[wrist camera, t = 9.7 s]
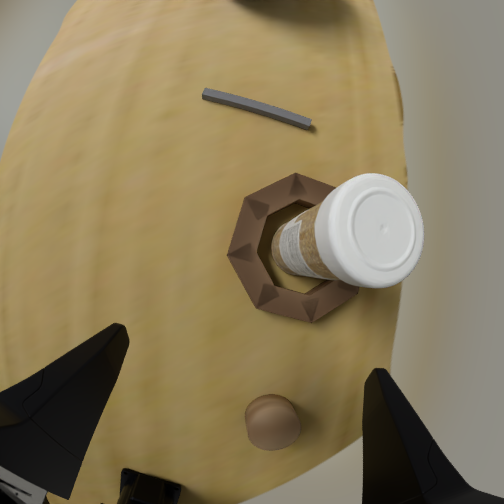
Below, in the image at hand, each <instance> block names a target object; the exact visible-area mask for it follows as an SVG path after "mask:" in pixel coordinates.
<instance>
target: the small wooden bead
mask: <svg viewBox="0 0 504 504" xmlns="http://www.w3.org/2000/svg"><path fill="white" fill-rule="evenodd" d="M245 421H246V426H247V432H248V437H249V440H250V441H251V443H252V444H253V445H254V446H256V447H258V448H260V449H263V450H269V451H272V450H279V449H283V448H285V447H287V446H289V445H290V444H292V443H293V442H294V441H295V440H296V439H297V438H298V436H299V434H300V432H301V422H300V420H299V418H298V416H297V414H296V412H295V410H294V409H293V407H292V405H291V403H290V402H289V401H288V400H287V399H286V398H284V397H282V396H280V395H275V394H269V395H264V396H261V397H258V398H256V399H255V400H253V401H252V402H251V403H250V404H249V406H248V407H247V409H246V412H245Z"/></svg>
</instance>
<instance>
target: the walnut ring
mask: <svg viewBox="0 0 504 504" xmlns="http://www.w3.org/2000/svg"><path fill="white" fill-rule="evenodd" d="M334 189H336V188H335V187H333V186H330V185H328V184H325V183H322V182H320V181H317V180H314V179H312V178H309V177H306V176H303V175H300V174H298V173H294V174H292V175H290V176H288V177H285V178H283V179H281V180H279V181H277V182H275V183H273V184H271V185H269V186H267V187H265V188H263V189H261V190H259V191H257V192H255V193H253V194H251V195H249V196H247V197H245V198H244V201H243V205H242V208H241V211H240V214H239V218H238V221H237V224H236V227H235V231H234V234H233V237H232V240H231V244H230V247H229V250H228V254H227V256H228V258H229V260H230V262H231V264H232V266H233V268H234V269H235V271H236V273H237V275H238V277H239V279H240V280H241V282H242V284H243V286H244V288H245V290H246V291H247V293H248V295H249V297H250V299H251V301H252V302H253V304H254V306H255V307H256V308H257V309H261V310H264V311H268V312H272V313H275V314H279V315H283V316H287V317H291V318H295V319H299V320H303V321H307V322H311V323H312V322H314V321H315V320H317V319H319V318H320V317H322V316H323V315H325V314H327V313H328V312H330V311H331V310H333V309H335V308H336V307H338V306H339V305H341V304H342V303H344V302H345V301H347V300H348V299H350V298H352V297H353V296H355V295H356V294H358V290H359V287H360V286H354V285H351V284H348V283H346V282H344V281H342V280H326V281H325V282H323V283H321V284H320V285H318V286H317V287H315V288H313V289H312V290H310V291H308V292H306V293H305V294H303V293H299V292H296V291H292V290H289V289H285V288H282V287H278V286H275V285H274V284H273V282H272V280H271V278H270V277H269V275H268V273H267V271H266V269H265V267H264V265H263V263H262V262H261V260H260V258H259V256H258V254H257V252H256V251H257V248H258V245H259V241H260V238H261V235H262V231H263V228H264V224H265V221H266V218H267V217H268V216H270V215H272V214H274V213H276V212H277V211H279V210H281V209H283V208H285V207H287V206H289V205H291V204H293V203H296V204H299V205H302V206H305V207H308V208H312V207H314V206H316V205H317V204H319V203H321V202H322V201H324V200H325V198H326V197H327V196H328V195H329V194H330V193H331V192H332V191H333V190H334Z"/></svg>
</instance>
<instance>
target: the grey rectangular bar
mask: <svg viewBox="0 0 504 504" xmlns="http://www.w3.org/2000/svg"><path fill="white" fill-rule="evenodd" d="M202 99H205V100H209V101H213V102H217V103H221V104H225V105H229V106H233V107H237V108H240V109H244V110H247V111H251V112H254V113H258V114H261V115H264V116H267V117H271V118H274V119H277V120H280V121H283V122H286V123H289V124H292V125H294V126H297V127H300V128H303V129H306V130H308V128H309V127H310V124H311V120H312V119H309V118H306V117H304V116H301V115H298V114H295V113H292V112H290V111H287V110H284V109H281V108H278V107H274V106H271V105H268V104H265V103H262V102H258V101H255V100H251V99H248V98H244V97H241V96H237V95H233V94H229V93H225V92H221V91H217V90H213V89H208V88H205V89H204V91H203V93H202Z"/></svg>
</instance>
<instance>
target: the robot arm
mask: <svg viewBox="0 0 504 504" xmlns="http://www.w3.org/2000/svg"><path fill="white" fill-rule="evenodd" d="M128 347H129V337H128V333H127V330H126V327H125V326H124V325H122V324H119V323H113V324H111V325H110V326H108V327H107V328H105V329H104V330H102V331H100V332H99V333H97V334H96V335H94V336H93V337H91V338H89V339H88V340H86V341H85V342H83V343H82V344H80V345H78V346H77V347H75V348H74V349H72V350H71V351H69V352H68V353H66V354H64V355H63V356H61V357H60V358H58V359H57V360H55V361H54V362H52V363H50V364H49V365H47V366H46V367H45V368H43V369H41V370H40V371H38V372H36V373H35V374H33V375H32V376H30V377H28V378H27V379H25V380H23V381H21V382H19V383H17V384H15V385H14V386H12V387H10V388H8V389H6V390H4V391H2V392H0V504H49V502H48V499H47V497H46V494H47V492H50V493H53V494H55V495H57V496H60V497H62V498H65V499H67V500H69V498H70V495H71V492H72V490H73V487H74V484H75V481H76V478H77V475H78V473H79V470H80V467H81V465H82V461H83V459H84V456H85V454H86V451H87V449H88V446H89V444H90V441H91V439H92V436H93V434H94V431H95V429H96V426H97V424H98V422H99V419H100V417H101V415H102V412H103V410H104V408H105V405H106V403H107V401H108V399H109V396H110V394H111V392H112V390H113V388H114V385H115V383H116V381H117V379H118V376H119V373H120V370H121V367H122V364H123V361H124V358H125V355H126V352H127V349H128ZM362 431H363V493H362V504H504V498H501V497H497V496H494V495H491V494H488V493H484V492H481V491H479V490H476V489H474V488H473V487H471V486H470V485H469V484H468V483H467V482H466V481H465V480H464V479H463V477H462V476H461V475H460V474H459V472H458V471H457V470H456V469H455V468H454V466H453V465H452V464H451V463H450V462H449V460H448V459H447V457H446V456H445V455H444V453H443V452H442V450H441V449H440V448H439V446H438V445H437V443H436V442H435V440H434V439H433V437H432V436H431V434H430V433H429V431H428V429H427V428H426V427H425V425H424V424H423V422H422V421H421V419H420V418H419V416H418V415H417V413H416V412H415V410H414V409H413V407H412V406H411V405H410V403H409V402H408V400H407V399H406V397H405V396H404V394H403V393H402V392H401V390H400V389H399V387H398V386H397V384H396V383H395V382H394V380H393V379H392V377H391V376H390V374H389V373H388V372H387V370H386V369H384V368H375V369H373V371H372V372H371V374H370V375H369V377H368V378H367V379H366V381H365V385H364V403H363V419H362ZM126 472H127V473H126ZM180 492H181V486H180V485H179V484H175V483H171V482H168V481H164V480H160V479H157V478H154V477H150V476H147V475H144V474H141V473H138V472H135V471H132V470H129V469H126V468H123V469H122V472H121V483H120V497H119V499H118V502H117V504H177V502H178V499H179V496H180ZM101 504H103V503H101Z"/></svg>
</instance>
